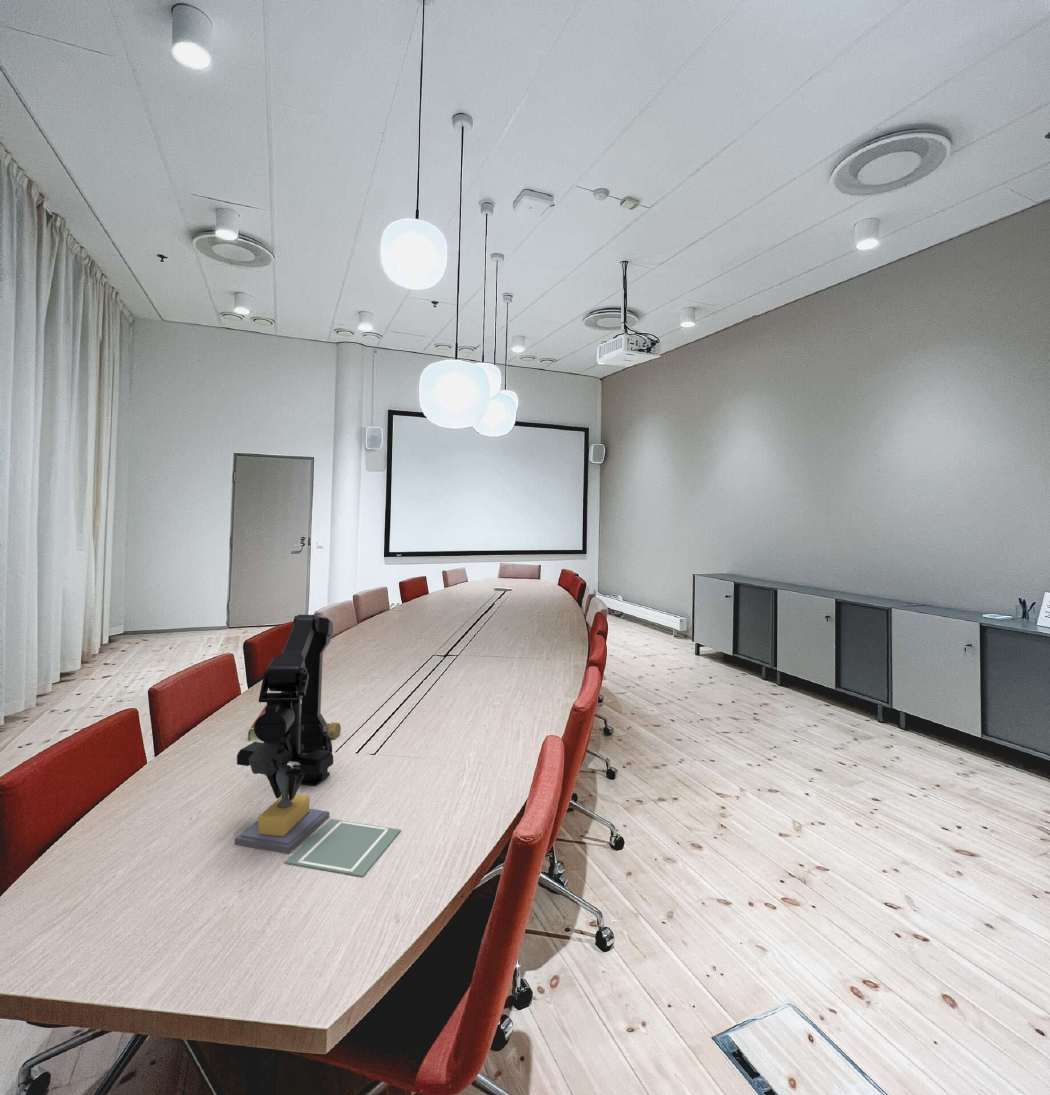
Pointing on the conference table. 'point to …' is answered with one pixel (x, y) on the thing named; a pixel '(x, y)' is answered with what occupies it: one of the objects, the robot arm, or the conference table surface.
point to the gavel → (334, 730)
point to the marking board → (344, 847)
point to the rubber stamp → (283, 809)
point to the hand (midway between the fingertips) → (285, 798)
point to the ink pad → (290, 839)
